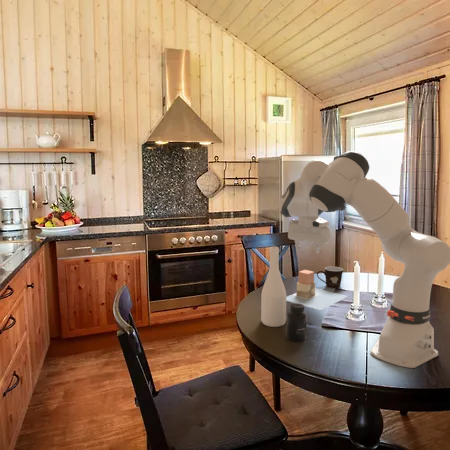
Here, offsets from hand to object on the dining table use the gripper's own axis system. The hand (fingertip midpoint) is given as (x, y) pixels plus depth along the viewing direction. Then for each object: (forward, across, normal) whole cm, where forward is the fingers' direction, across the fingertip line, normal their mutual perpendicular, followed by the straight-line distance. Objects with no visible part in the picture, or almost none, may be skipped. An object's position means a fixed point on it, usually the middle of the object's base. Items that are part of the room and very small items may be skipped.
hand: (307, 251), depth 180 cm
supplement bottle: (+22, +21, -38) cm, 49 cm away
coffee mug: (+22, 0, +19) cm, 29 cm away
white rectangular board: (+22, +5, -1) cm, 22 cm away
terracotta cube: (+14, 0, -1) cm, 14 cm away
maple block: (+20, 0, -1) cm, 20 cm away
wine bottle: (+22, +7, -34) cm, 41 cm away
